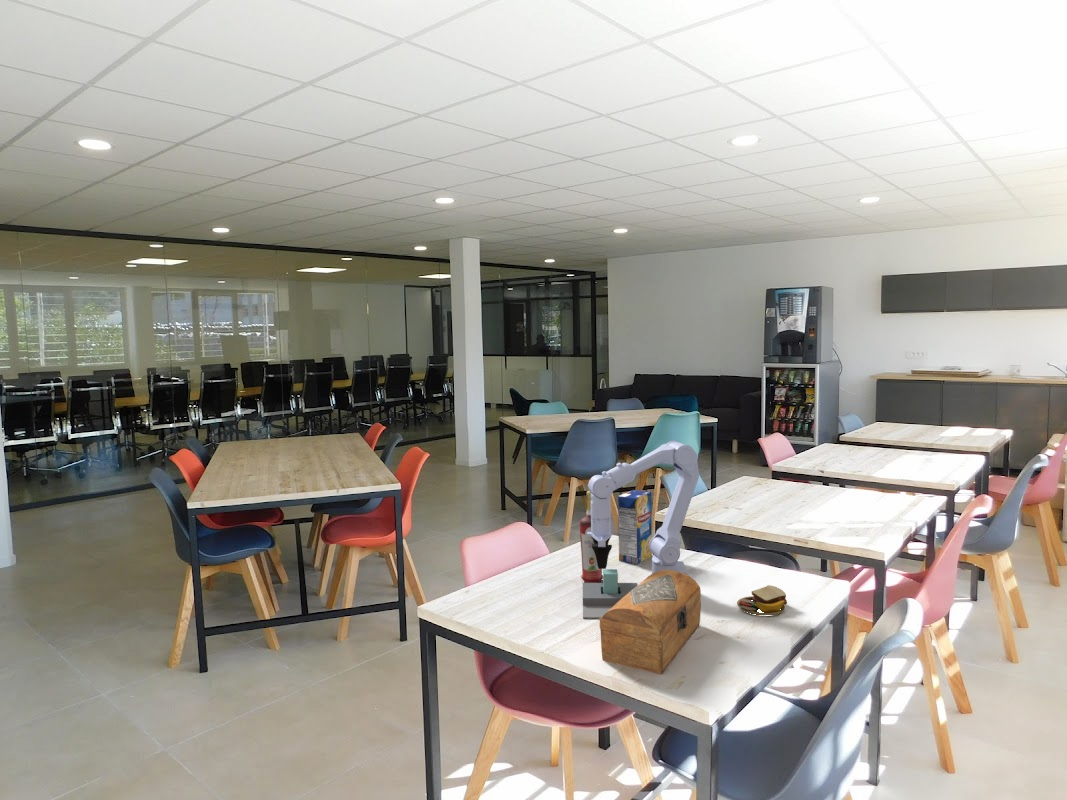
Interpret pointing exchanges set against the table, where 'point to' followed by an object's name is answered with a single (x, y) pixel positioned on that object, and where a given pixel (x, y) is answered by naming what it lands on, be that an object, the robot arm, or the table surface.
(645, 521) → the beverage box
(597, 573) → the liquor
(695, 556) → the table surface
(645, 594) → the wooden box
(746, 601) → the toy sandwich meal
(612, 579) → the teal block
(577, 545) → the table surface
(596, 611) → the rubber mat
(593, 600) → the pocket board
